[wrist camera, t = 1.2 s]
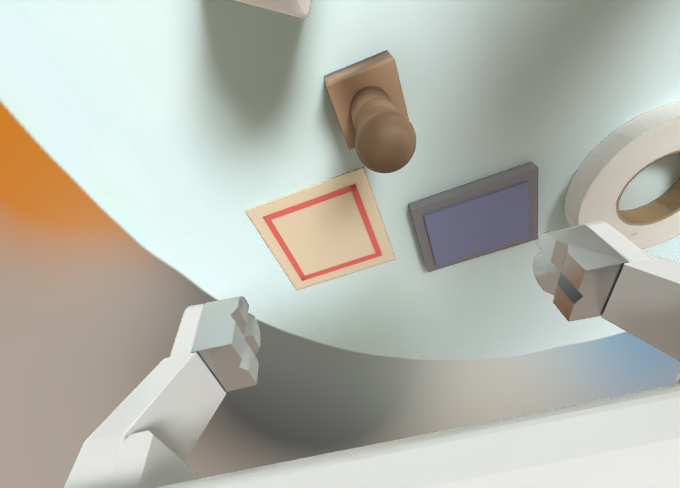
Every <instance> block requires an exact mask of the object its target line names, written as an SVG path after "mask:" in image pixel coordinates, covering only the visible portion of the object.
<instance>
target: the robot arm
mask: <svg viewBox="0 0 680 488" xmlns="http://www.w3.org/2000/svg"><path fill="white" fill-rule="evenodd" d="M537 246H538V247H539V248H540V249H541V251H540V252H539V253H538V254H537V255H536V257H535V258H534V264H533V270H534V275H535V278H536V280H537V282H538V284H539V285H540V286H541V288H542V289H543V290H544V291H546V292H548V293H550V294H553V295H554V300H553V303H554V304H555V305H556V307H557V308H558V309H559V310H560V312H561V313H562V314H563V315H564V317H565V318H566V319H567V320H568V321H574V320H579V319H585V318H591V317H596V316H602V318H604V319H606V320H607V321H609V322H611V323H613V324H615V325H616V326H618V327H620V328H622V329H623V330H625V331H627V332H629V333H631V334H632V335H634V336H636V337H638V338H639V339H641V340H643V341H645V342H646V343H648V344H650V345H652V346H654V347H655V348H657V349H659V350H661V351H663V352H664V353H666V354H668V355H669V356H671V357H673V358H675V359H677V360H678V361H680V263H677V262H674V261H671V260H668V259H664V258H661V257H654V258H652V257H650V256H649V255H648V254H647V253H645V252H644V251H643V250H641V249H640V248H639V247H638V246H636V245H635V244H634V243H633V242H631V241H630V240H629V239H627V238H626V237H625V236H624V235H622V234H621V233H620V232H618V231H617V230H616V229H615V228H613V227H612V226H611V225H610V224H608V223H607V222H604V221H601V220H599V221H594V222H590V223H585V224H581V225H578V226H573V227H568V228H564V229H559V230H554V231H550V232H545V233H542V234H541V235H540V237H539V239H538V243H537ZM248 309H249V305H248V303H247V301H246V299H245V297H242V296H240V297H235V298H230V299H224V300H219V301H214V302H208V303H205V304H199V305H194V306H189V307H188V308H187V309H186V310H185V311H184V314H183V317H182V320H181V324H180V326H179V329H178V333H177V336H176V339H175V342H174V345H173V349H172V351H171V354H170V357H169V358H165V359H163V360H162V361H161V362H160V363H159V364H158V365H157V367H156V368H155V369H154V370H153V371H152V372H151V373H150V374H149V375H148V376H147V377H146V378H145V379H144V380H143V381H142V382H141V383H140V384H139V386H137V387H136V389H134V391H133V392H132V393H131V394H130V395H129V396H128V397H127V398H126V399H125V400H124V401H123V402H122V403H121V404H120V405H119V406H118V407H117V408H116V409H115V410H114V411H113V412H112V413H111V415H110V416H109V417H108V418H107V419H106V420H105V421H104V422H103V423H102V424H101V425H100V426H99V427H98V428H97V429H96V430H95V431H94V432H93V433H92V434H91V436H89V437H88V439H87V440H86V441H85V442H84V444H83V446H82V449H81V451H80V453H79V455H78V457H77V460H76V462H75V464H74V467H73V469H72V471H71V473H70V476H69V478H68V480H67V482H66V484H65V487H64V488H680V374H679V375H678V377H677V379H676V385H671V386H666V387H661V388H656V389H651V390H646V391H641V392H636V393H630V394H625V395H621V396H615V397H611V398H605V399H600V400H595V401H590V402H585V403H580V404H575V405H569V406H564V407H559V408H554V409H549V410H544V411H539V412H534V413H529V414H524V415H519V416H514V417H508V418H503V419H498V420H493V421H488V422H483V423H478V424H473V425H468V426H463V427H458V428H453V429H448V430H443V431H438V432H433V433H428V434H423V435H418V436H412V437H407V438H403V439H398V440H392V441H387V442H382V443H377V444H372V445H367V446H362V447H357V448H352V449H347V450H342V451H337V452H332V453H326V454H321V455H316V456H311V457H306V458H301V459H297V460H291V461H287V462H281V463H276V464H271V465H266V466H261V467H256V468H251V469H246V470H241V471H236V472H231V473H226V474H220V475H215V476H211V477H205V478H201V477H200V476H199V475H198V473H197V472H196V471H195V470H193V469H192V468H191V467H190V466H189V465H188V464H187V463H185V462H184V461H185V460H186V458H187V456H188V455H189V453H190V451H191V450H192V448H193V447H194V445H195V443H196V442H197V440H198V438H199V437H200V435H201V434H202V432H203V431H204V429H205V427H206V426H207V424H208V422H209V421H210V419H211V417H212V416H213V414H214V413H215V411H216V410H217V407H218V406H219V405H220V403H221V401H222V400H223V398H224V397H225V395H226V392H228V391H232V390H236V389H240V388H245V387H249V386H254V385H257V376H258V365H259V362H258V360H257V359H256V357H255V354H256V353H257V352H258V351H259V349H260V331H259V326H258V324H257V321H256V318H255V316H253V315H251V314H250V313H248Z"/></svg>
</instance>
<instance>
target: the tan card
mask: <svg viewBox="0 0 680 488" xmlns="http://www.w3.org/2000/svg"><path fill="white" fill-rule="evenodd" d="M246 213H247V214H248V216H249V218H250V219H251V221H252V222H253V224H254V225H255V227H256V228H257V230H258V231H259V233H260V234H261V236H262V238H263V239H264V241H265V242H266V244H267V245H268V247H269V248H270V250H271V251H272V253H273V254H274V256H275V258H276V259H277V261H278V262H279V264H280V265H281V267H282V268H283V270H284V271H285V273H286V274H287V276H288V278H289V279H290V281H291V282H292V284H293V285H294V287H295V288H296V290H299V289H302V288H306V287H309V286H312V285H315V284H318V283H321V282H325V281H328V280H331V279H334V278H337V277H340V276H344V275H347V274H350V273H353V272H356V271H359V270H363V269H366V268H369V267H372V266H375V265H379V264H382V263H385V262H388V261H391V260H394V259H395V256H394V253H393V250H392V247H391V245H390V242H389V239H388V236H387V233H386V230H385V227H384V225H383V222H382V219H381V216H380V213H379V210H378V207H377V205H376V202H375V199H374V196H373V193H372V190H371V188H370V185H369V182H368V179H367V176H366V173H365V170H364V168H360V169H358V170H355V171H352V172H349V173H347V174H344V175H341V176H338V177H336V178H333V179H330V180H327V181H324V182H322V183H319V184H316V185H313V186H311V187H308V188H305V189H302V190H300V191H297V192H294V193H291V194H289V195H286V196H283V197H280V198H278V199H275V200H272V201H269V202H266V203H264V204H261V205H258V206H255V207H253V208H250V209H247V210H246Z"/></svg>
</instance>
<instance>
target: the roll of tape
mask: <svg viewBox="0 0 680 488" xmlns="http://www.w3.org/2000/svg"><path fill="white" fill-rule="evenodd" d="M676 153H680V101H679V102H674V103H670V104H666V105H663V106H660V107H657V108H655V109H652V110H650V111H647V112H645V113H643V114H641V115H639V116H637V117H635V118H634V119H632V120H630V121H628V122H627V123H625V124H624V125H622V126H621V127H619V128H618V129H617V130H615V131H614V132H612V133H611V134H610V135H609V136H608V137H606V138H605V139H604V140H603V141H602V142H601V143H600V144H599V145H598V146H596V148H595V149H594V150H593V151H592V152H591V153H590V154H589V155H588V156H587V157H586V159H585V160H584V161H583V162H582V164H581V165H580V167H579V168H578V170H577V171H576V173H575V175H574V176H573V178H572V180H571V182H570V185H569V187H568V190H567V193H566V196H565V202H564V213H565V217H566V220H567V222H568V223H569V225H570V226H571V227H573V226H578V225H581V224H585V223H590V222H594V221H599V220H601V221H604V222H607V223H608V224H610V225H611V226H612V227H613V228H615V229H616V230H617V231H618V232H620V233H621V234H622V235H624V236H625V237H626V238H627V239H629V240H630V241H631V242H633V243H634V244H635V245H636V246H638V247H639V248H640V249H644V248H648V247H651V246H654V245H657V244H659V243H662V242H665V241H667V240H669V239H671V238H673V237H675V236H677V235H679V234H680V178H679V179H678V180H677V181H676V182H675V184H674V185H673V186H672V187H671V188H670V189H669V190H668V191H667V192H665V193H664V194H663V195H662V196H660V197H659V198H657V199H656V200H654V201H652V202H651V203H649V204H647V205H644V206H642V207H639V208H636V209H633V210H626V211H619V209H618V205H619V200H620V198H621V195H622V193H623V191H624V189H625V188H626V187H627V185H628V184H629V183H630V181H631V180H632V179H633V178H634V177H635V176H636V175H637V174H639V173H640V172H641V171H642V170H644V169H645V168H646V167H648V166H649V165H651V164H652V163H654V162H656V161H658V160H660V159H662V158H664V157H666V156H669V155H672V154H676Z"/></svg>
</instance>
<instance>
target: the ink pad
mask: <svg viewBox="0 0 680 488" xmlns="http://www.w3.org/2000/svg"><path fill="white" fill-rule="evenodd" d="M409 208H410V211H411V215H412V218H413V222H414V226H415V229H416V233H417V236H418V240H419V243H420V247H421V251H422V254H423V258H424V261H425V265H426V267H427V270H428V272H431V271H434V270H437V269H440V268H444V267H447V266H450V265H454V264H457V263H460V262H463V261H467V260H470V259H473V258H477V257H480V256H483V255H486V254H490V253H493V252H496V251H499V250H503V249H506V248H509V247H513V246H516V245H519V244H522V243H526V242H529V241H532V240H536V239H538V167H536V166H535V165H534V164H533V163H532V162H530V163H527V164H524V165H521V166H519V167H516V168H513V169H510V170H507V171H504V172H501V173H498V174H495V175H492V176H489V177H486V178H483V179H480V180H477V181H474V182H471V183H468V184H465V185H462V186H459V187H456V188H454V189H451V190H448V191H445V192H442V193H439V194H436V195H433V196H430V197H427V198H424V199H421V200H418V201H415V202H412V203H409Z"/></svg>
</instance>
